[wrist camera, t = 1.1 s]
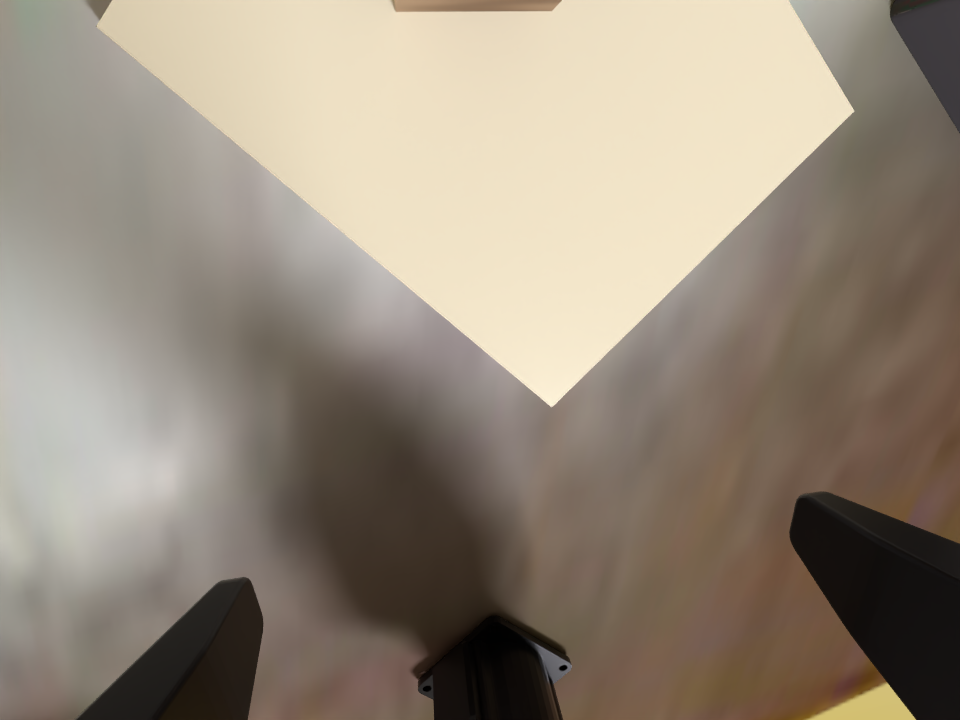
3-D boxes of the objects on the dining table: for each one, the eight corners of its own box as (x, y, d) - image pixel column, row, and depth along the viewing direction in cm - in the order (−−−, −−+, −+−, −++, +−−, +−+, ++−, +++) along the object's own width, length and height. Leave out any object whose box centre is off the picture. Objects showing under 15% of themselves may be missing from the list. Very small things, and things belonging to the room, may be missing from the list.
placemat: (841, 112, 19) (854, 111, 18) (548, 401, 22) (551, 407, 21) (455, -525, 12) (457, -557, 11) (107, 31, 15) (96, 26, 14)
